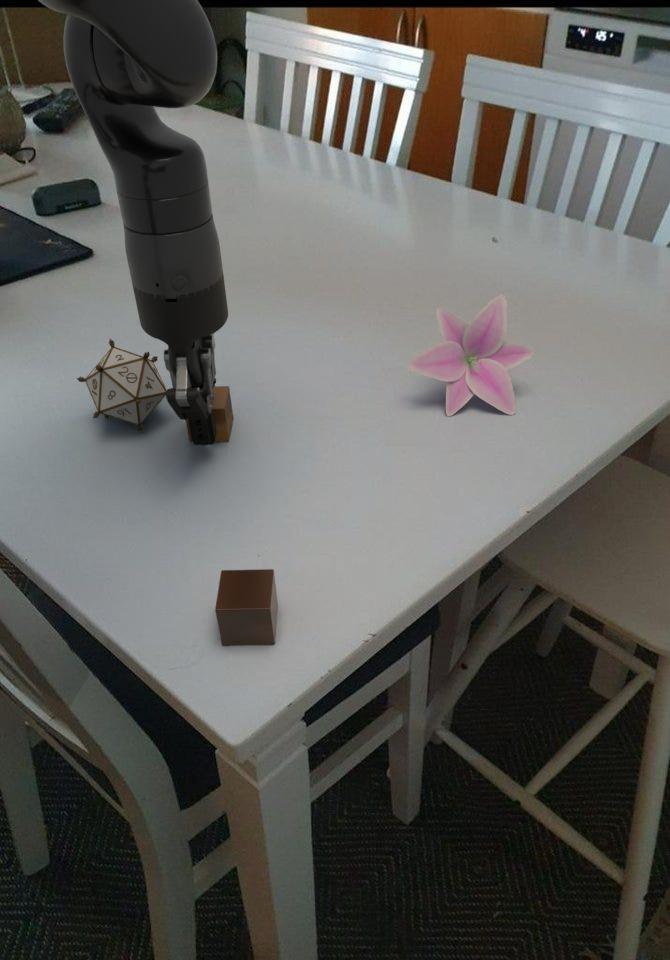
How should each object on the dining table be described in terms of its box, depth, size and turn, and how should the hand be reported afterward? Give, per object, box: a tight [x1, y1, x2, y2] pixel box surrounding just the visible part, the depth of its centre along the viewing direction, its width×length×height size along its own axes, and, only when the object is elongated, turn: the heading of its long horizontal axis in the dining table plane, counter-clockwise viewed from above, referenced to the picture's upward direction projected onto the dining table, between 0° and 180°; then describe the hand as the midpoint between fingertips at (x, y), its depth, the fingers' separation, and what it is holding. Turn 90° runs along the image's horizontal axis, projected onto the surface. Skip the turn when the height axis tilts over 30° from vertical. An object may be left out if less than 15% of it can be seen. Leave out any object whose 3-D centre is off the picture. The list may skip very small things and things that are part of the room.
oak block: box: [184, 385, 234, 443], centre depth 81 cm, size 4×4×4 cm
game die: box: [76, 338, 167, 434], centre depth 81 cm, size 9×8×10 cm
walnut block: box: [214, 568, 279, 646], centre depth 61 cm, size 4×4×4 cm
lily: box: [406, 294, 535, 417], centre depth 83 cm, size 12×12×10 cm
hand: (204, 440), depth 78 cm, fingers closed
